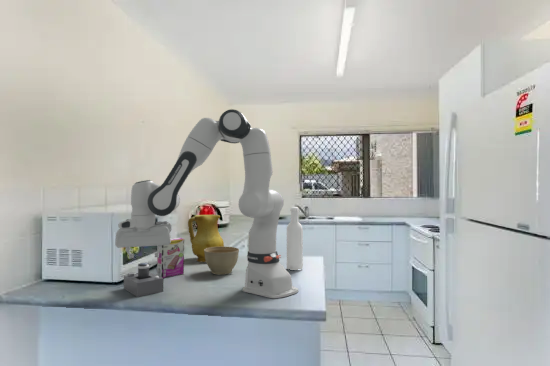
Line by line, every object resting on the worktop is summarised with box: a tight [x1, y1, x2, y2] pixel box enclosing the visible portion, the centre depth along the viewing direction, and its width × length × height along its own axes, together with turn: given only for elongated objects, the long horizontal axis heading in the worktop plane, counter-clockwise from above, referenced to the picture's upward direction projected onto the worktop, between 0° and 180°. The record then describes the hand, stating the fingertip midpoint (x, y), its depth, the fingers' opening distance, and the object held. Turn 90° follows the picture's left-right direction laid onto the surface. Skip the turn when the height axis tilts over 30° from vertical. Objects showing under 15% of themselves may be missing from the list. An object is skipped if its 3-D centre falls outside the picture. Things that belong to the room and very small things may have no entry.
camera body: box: [123, 271, 164, 298], centre depth 139 cm, size 14×10×6 cm
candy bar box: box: [156, 237, 185, 279], centre depth 161 cm, size 11×5×16 cm, turn 137°
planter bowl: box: [204, 246, 240, 276], centre depth 166 cm, size 16×16×11 cm
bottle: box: [286, 206, 304, 270], centre depth 173 cm, size 8×8×30 cm
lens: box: [137, 262, 150, 280], centre depth 139 cm, size 4×4×8 cm
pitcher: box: [187, 214, 225, 263], centre depth 195 cm, size 17×19×25 cm
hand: (144, 257), depth 138 cm, fingers open, 8 cm apart
